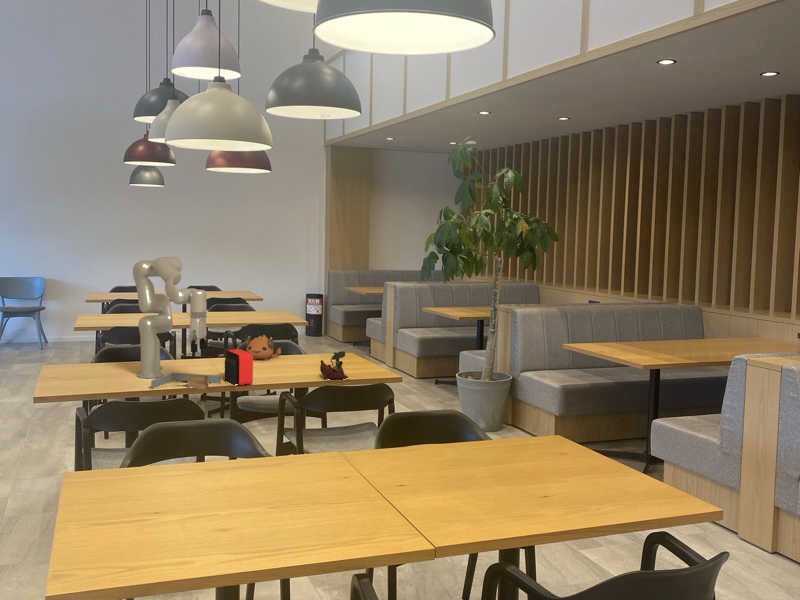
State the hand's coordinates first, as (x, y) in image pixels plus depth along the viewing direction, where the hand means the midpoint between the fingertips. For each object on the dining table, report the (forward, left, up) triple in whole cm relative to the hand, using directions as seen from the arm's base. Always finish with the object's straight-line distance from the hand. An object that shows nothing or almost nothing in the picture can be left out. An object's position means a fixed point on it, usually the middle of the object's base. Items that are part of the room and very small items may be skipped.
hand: (198, 350), depth 370 cm
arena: (-3, -7, -18) cm, 20 cm away
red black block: (-17, +13, -19) cm, 28 cm away
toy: (-84, +2, -19) cm, 86 cm away
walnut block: (0, 0, -18) cm, 18 cm away
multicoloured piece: (-41, +58, -19) cm, 73 cm away
